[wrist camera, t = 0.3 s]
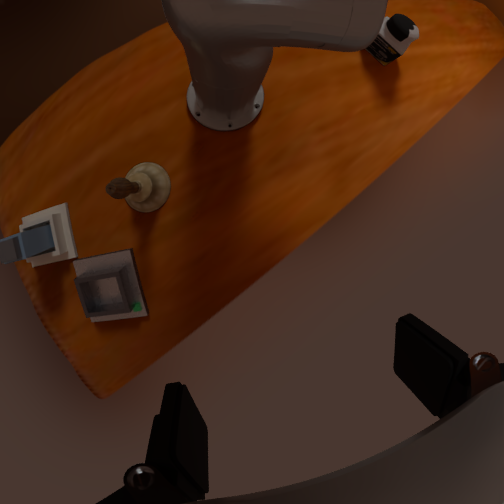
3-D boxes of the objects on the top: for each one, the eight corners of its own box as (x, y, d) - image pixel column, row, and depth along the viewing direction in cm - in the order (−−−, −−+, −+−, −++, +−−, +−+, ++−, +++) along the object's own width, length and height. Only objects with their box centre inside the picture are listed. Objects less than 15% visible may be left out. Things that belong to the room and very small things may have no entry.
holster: (24, 217, 39) (13, 219, 35) (67, 202, 40) (56, 204, 36) (34, 266, 41) (24, 271, 38) (77, 256, 42) (68, 261, 39)
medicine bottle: (357, 43, 39) (387, 18, 28) (371, 29, 39) (399, 5, 27) (384, 66, 41) (417, 46, 29) (395, 51, 40) (427, 31, 29)
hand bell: (177, 201, 43) (155, 206, 27) (133, 219, 43) (93, 234, 27) (161, 154, 41) (132, 136, 25) (117, 174, 41) (71, 168, 25)
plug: (34, 229, 39) (-7, 242, 27) (55, 222, 40) (14, 234, 28) (38, 249, 40) (-1, 266, 28) (60, 244, 41) (20, 260, 29)
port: (76, 259, 43) (63, 266, 38) (132, 248, 44) (123, 254, 39) (94, 318, 45) (84, 330, 40) (149, 312, 46) (142, 324, 41)
